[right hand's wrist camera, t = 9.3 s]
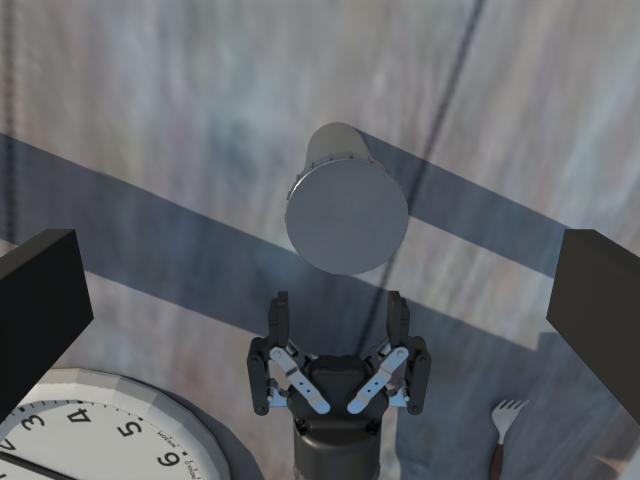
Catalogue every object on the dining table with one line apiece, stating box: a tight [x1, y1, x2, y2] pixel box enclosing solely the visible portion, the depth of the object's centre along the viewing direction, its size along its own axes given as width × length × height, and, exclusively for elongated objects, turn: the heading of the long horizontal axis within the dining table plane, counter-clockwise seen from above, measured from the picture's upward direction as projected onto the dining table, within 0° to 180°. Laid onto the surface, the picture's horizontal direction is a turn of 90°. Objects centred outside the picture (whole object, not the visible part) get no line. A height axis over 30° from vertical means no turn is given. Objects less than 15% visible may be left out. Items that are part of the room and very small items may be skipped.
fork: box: [489, 399, 529, 480], centre depth 46 cm, size 3×16×2 cm, turn 0°
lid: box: [285, 151, 408, 275], centre depth 22 cm, size 6×6×2 cm
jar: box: [304, 123, 372, 169], centre depth 29 cm, size 5×5×16 cm
